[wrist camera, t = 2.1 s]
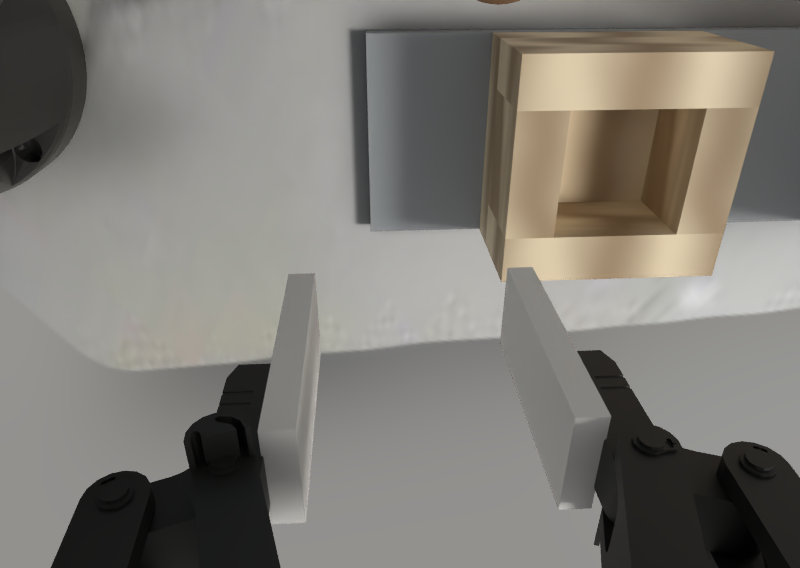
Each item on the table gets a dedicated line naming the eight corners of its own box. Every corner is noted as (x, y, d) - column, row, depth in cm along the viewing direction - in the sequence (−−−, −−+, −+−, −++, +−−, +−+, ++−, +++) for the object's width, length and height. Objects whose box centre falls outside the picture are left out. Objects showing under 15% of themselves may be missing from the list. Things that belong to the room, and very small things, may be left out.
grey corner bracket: (370, 224, 38) (375, 323, 28) (365, 30, 32) (369, 71, 23) (828, 212, 39) (980, 302, 30) (897, 26, 34) (1110, 62, 24)
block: (479, 228, 37) (501, 281, 32) (492, 32, 32) (522, 53, 26) (658, 224, 38) (711, 275, 32) (701, 30, 32) (774, 51, 27)
